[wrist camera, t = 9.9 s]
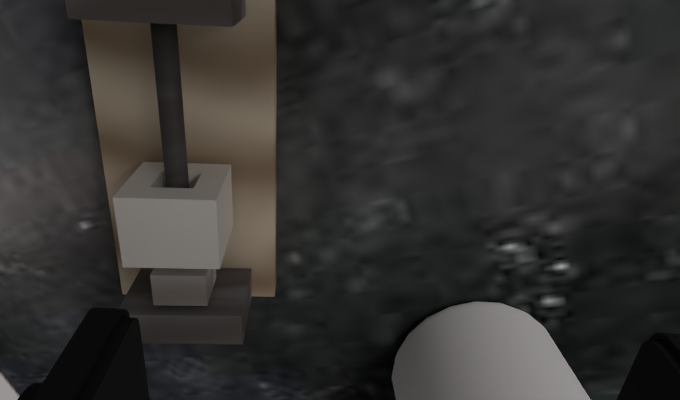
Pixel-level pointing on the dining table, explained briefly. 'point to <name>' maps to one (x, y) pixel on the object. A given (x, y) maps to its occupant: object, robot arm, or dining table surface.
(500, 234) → the dining table surface
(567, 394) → the can
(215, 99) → the small bench vise
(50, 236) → the dining table surface
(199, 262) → the sleeve
